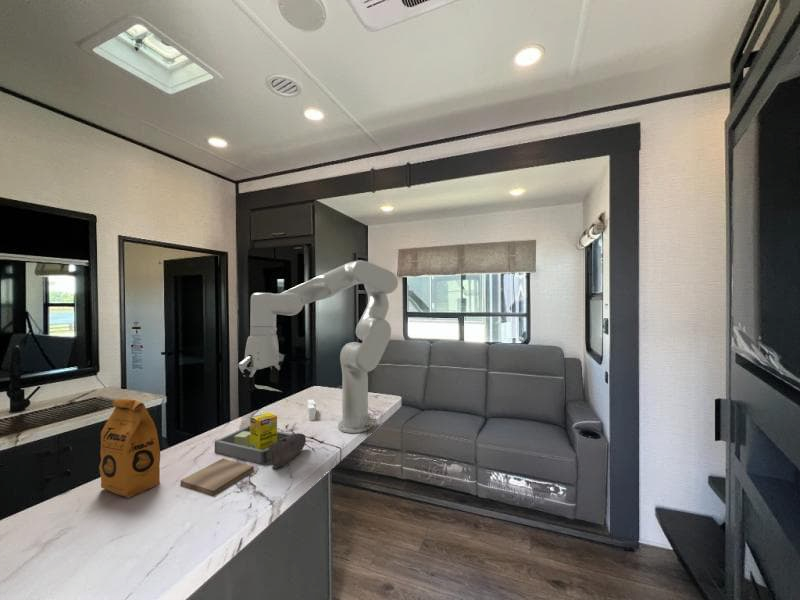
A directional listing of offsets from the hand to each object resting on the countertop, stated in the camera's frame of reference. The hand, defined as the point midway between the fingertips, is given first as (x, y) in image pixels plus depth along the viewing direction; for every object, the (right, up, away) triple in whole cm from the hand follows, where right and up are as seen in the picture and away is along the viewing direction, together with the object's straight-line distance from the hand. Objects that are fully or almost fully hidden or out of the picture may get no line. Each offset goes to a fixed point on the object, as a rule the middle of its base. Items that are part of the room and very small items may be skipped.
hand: (262, 385), depth 98 cm
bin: (-3, -21, +1) cm, 21 cm away
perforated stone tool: (+10, -21, -5) cm, 24 cm away
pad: (-5, -20, -15) cm, 26 cm away
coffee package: (-25, -21, -19) cm, 38 cm away
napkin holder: (+6, -22, +30) cm, 37 cm away
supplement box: (0, -21, 0) cm, 21 cm away
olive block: (-7, -21, +3) cm, 22 cm away
